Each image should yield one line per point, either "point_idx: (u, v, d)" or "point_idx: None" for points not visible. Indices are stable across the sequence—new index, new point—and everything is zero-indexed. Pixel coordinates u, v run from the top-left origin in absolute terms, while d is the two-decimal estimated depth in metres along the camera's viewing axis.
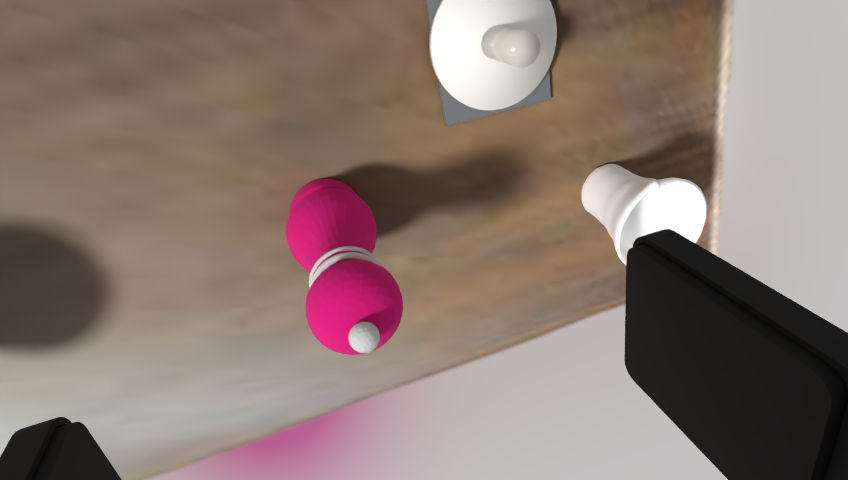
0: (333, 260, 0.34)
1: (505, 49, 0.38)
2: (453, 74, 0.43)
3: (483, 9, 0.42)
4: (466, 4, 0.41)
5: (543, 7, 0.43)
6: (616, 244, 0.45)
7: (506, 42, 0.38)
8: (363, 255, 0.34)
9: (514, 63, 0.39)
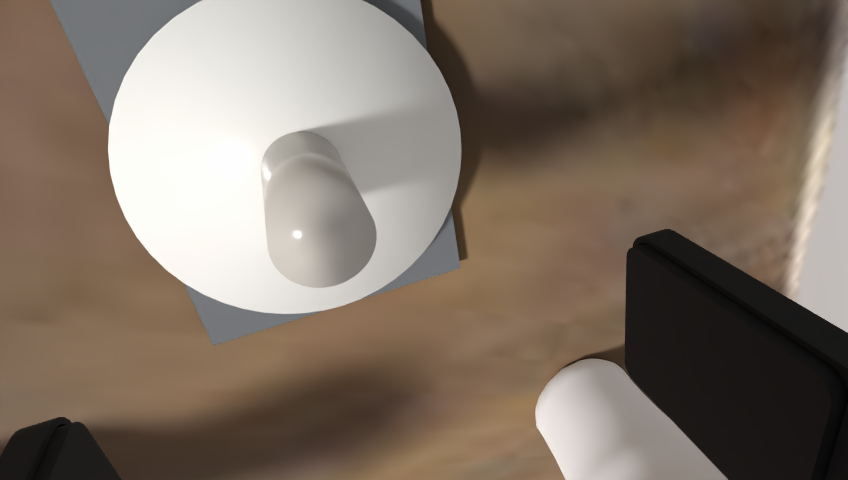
0: None
1: None
2: (196, 250, 0.17)
3: (252, 95, 0.16)
4: (197, 84, 0.15)
5: (421, 82, 0.17)
6: None
7: (267, 219, 0.13)
8: None
9: (298, 279, 0.13)
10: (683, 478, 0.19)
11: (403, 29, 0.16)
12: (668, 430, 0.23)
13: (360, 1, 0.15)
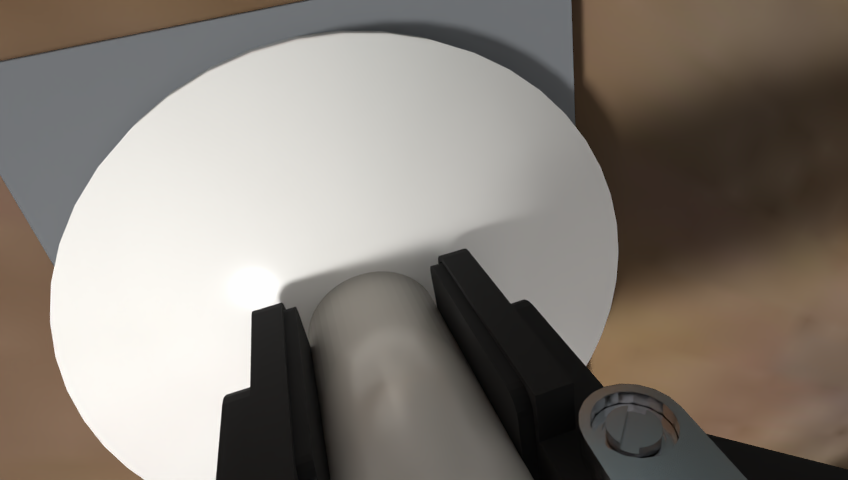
0: None
1: None
2: (202, 454, 0.11)
3: (299, 222, 0.09)
4: (205, 209, 0.09)
5: (570, 187, 0.10)
6: None
7: None
8: None
9: None
10: None
11: (552, 106, 0.09)
12: None
13: (488, 63, 0.09)
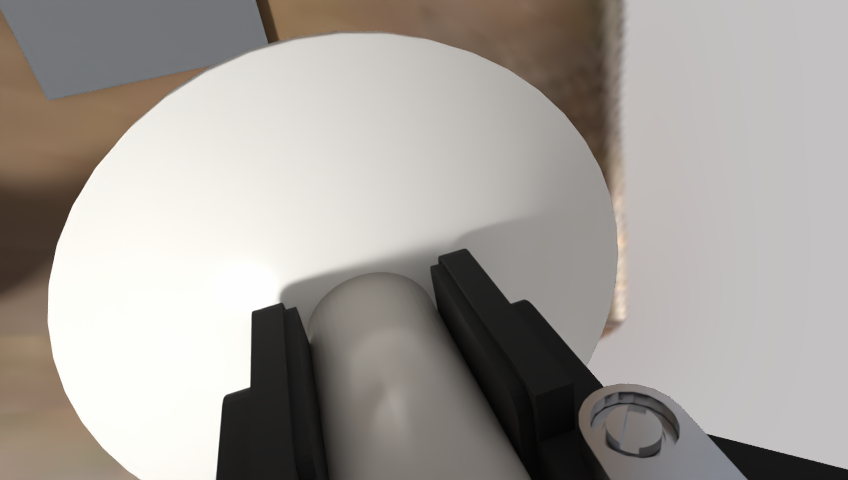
0: None
1: None
2: (200, 455, 0.11)
3: (297, 223, 0.09)
4: (204, 210, 0.09)
5: (570, 188, 0.10)
6: None
7: None
8: None
9: None
10: None
11: (552, 106, 0.09)
12: None
13: (487, 63, 0.09)
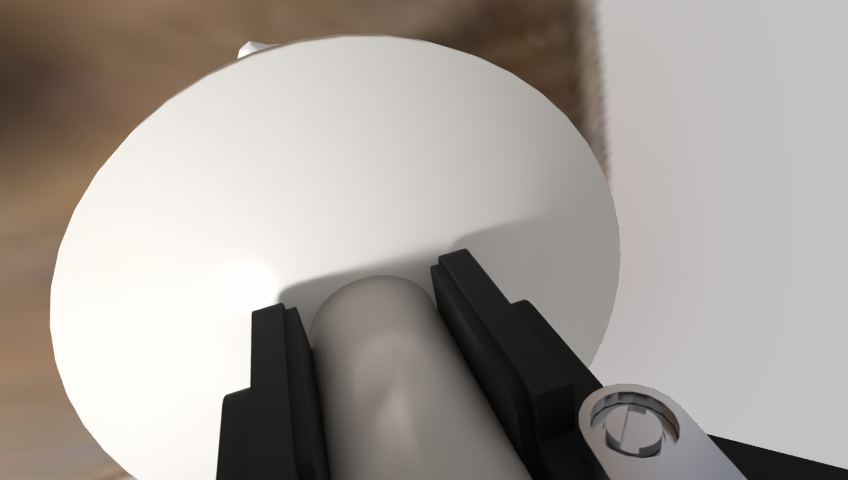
0: None
1: None
2: (202, 458, 0.11)
3: (300, 226, 0.09)
4: (206, 213, 0.09)
5: (572, 191, 0.10)
6: None
7: None
8: None
9: None
10: None
11: (554, 109, 0.09)
12: None
13: (490, 66, 0.09)
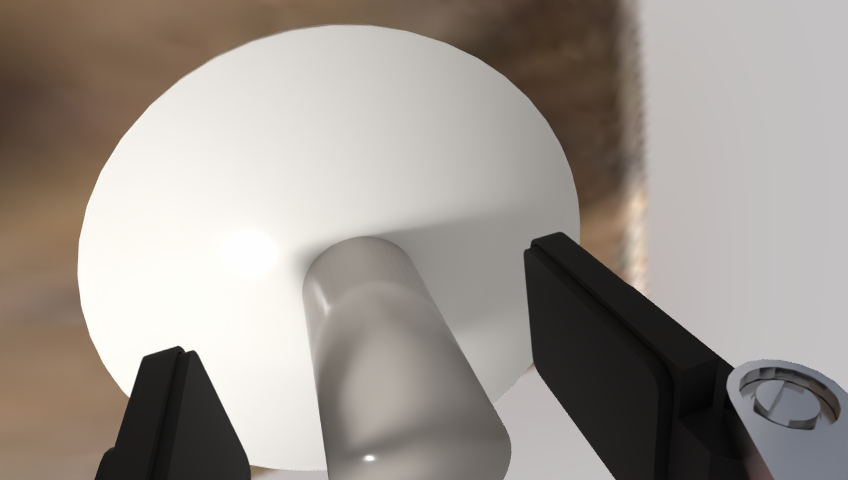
0: None
1: None
2: None
3: (293, 190, 0.10)
4: (212, 177, 0.10)
5: (534, 163, 0.12)
6: None
7: (330, 438, 0.07)
8: None
9: None
10: None
11: (516, 90, 0.11)
12: None
13: (458, 52, 0.10)
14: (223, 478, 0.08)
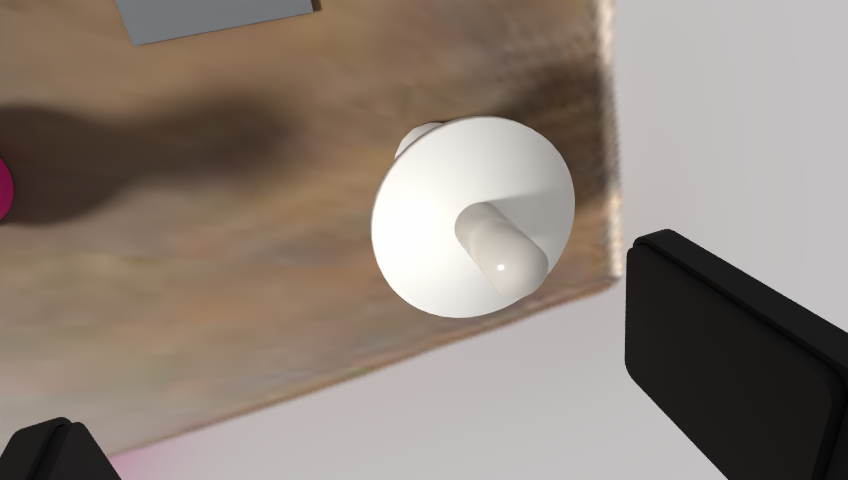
0: None
1: (488, 271, 0.23)
2: (410, 274, 0.27)
3: (457, 181, 0.26)
4: (428, 176, 0.25)
5: (554, 171, 0.27)
6: None
7: (489, 259, 0.22)
8: None
9: (504, 293, 0.23)
10: None
11: (547, 141, 0.26)
12: None
13: (524, 127, 0.25)
14: None
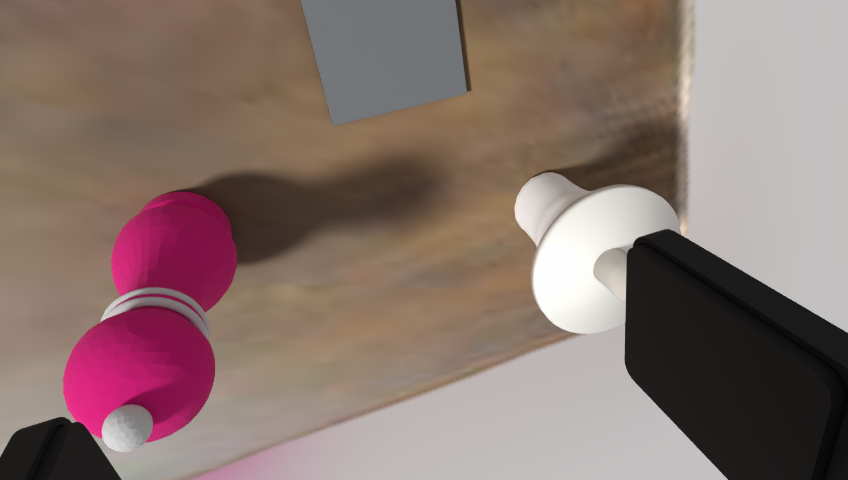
0: (122, 308, 0.25)
1: None
2: (558, 303, 0.36)
3: (599, 234, 0.34)
4: (580, 231, 0.33)
5: (668, 223, 0.35)
6: None
7: None
8: (167, 301, 0.25)
9: None
10: None
11: (665, 201, 0.34)
12: None
13: (651, 192, 0.34)
14: None
